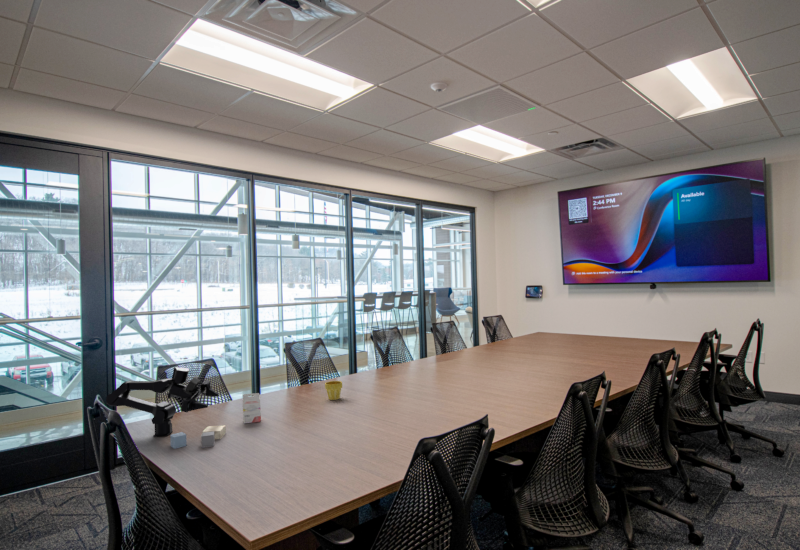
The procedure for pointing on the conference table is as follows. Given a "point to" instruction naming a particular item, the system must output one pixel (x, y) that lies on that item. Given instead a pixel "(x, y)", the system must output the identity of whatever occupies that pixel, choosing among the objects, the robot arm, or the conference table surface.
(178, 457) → the conference table surface
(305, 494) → the conference table surface
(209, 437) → the grey cube
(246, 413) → the ink cartridge box
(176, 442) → the blue cube
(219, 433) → the maple block
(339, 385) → the plant pot
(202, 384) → the robot arm
